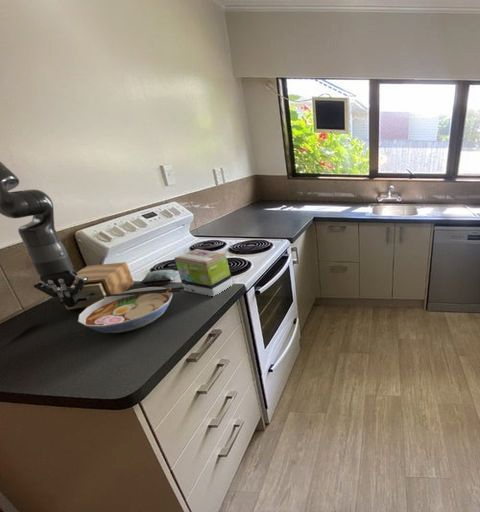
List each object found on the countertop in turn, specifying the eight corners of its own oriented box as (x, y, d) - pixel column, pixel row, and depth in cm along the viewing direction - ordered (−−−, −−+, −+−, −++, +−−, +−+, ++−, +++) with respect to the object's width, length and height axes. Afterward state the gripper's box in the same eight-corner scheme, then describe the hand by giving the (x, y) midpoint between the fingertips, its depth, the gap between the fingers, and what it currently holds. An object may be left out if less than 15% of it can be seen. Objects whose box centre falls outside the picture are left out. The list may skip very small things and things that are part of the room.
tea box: (183, 292, 112) (172, 257, 106) (205, 280, 120) (196, 248, 115) (213, 297, 107) (204, 261, 102) (234, 285, 116) (226, 251, 111)
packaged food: (151, 278, 122) (148, 268, 120) (182, 275, 125) (179, 265, 123) (141, 288, 114) (136, 277, 113) (174, 285, 117) (170, 274, 115)
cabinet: (114, 302, 105) (104, 278, 101) (70, 307, 101) (59, 283, 97) (134, 283, 118) (126, 262, 115) (96, 287, 115) (87, 265, 111)
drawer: (100, 310, 98) (91, 290, 95) (58, 316, 95) (47, 295, 92) (127, 285, 114) (120, 268, 111) (91, 289, 111) (83, 271, 108)
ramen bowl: (60, 351, 80) (47, 327, 77) (117, 307, 101) (109, 287, 98) (159, 342, 84) (150, 319, 81) (194, 302, 105) (188, 282, 102)
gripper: (84, 250, 93) (104, 297, 99) (31, 255, 89) (55, 303, 95) (68, 259, 86) (90, 308, 92) (10, 264, 82) (38, 315, 89)
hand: (72, 305), depth 94 cm, fingers closed
